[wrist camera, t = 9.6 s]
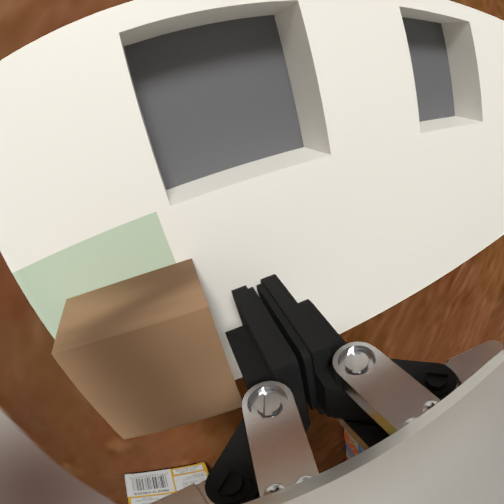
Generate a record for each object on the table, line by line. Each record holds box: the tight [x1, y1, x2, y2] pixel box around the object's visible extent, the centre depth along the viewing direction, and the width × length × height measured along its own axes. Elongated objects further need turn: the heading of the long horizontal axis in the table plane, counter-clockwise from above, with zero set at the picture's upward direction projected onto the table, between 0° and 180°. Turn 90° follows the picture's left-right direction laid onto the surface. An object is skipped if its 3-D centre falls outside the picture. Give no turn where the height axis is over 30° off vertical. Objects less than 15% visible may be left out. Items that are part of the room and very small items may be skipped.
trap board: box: [0, 0, 504, 380], centre depth 13 cm, size 31×16×2 cm, turn 103°
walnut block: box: [52, 258, 242, 439], centre depth 10 cm, size 5×5×3 cm
